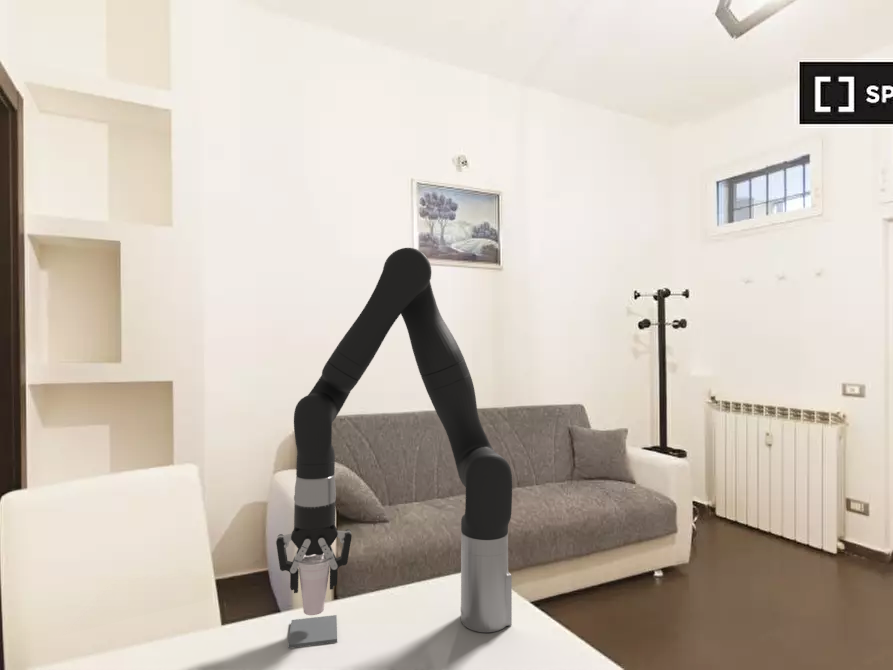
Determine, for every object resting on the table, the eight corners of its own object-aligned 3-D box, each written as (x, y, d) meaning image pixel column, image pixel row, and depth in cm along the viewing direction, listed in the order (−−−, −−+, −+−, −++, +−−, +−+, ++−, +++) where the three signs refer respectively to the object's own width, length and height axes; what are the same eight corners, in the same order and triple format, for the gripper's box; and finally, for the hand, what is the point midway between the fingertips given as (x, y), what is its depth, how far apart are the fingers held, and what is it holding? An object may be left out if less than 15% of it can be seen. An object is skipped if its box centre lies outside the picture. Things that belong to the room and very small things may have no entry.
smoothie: (322, 621, 92) (323, 542, 93) (289, 617, 94) (290, 539, 94) (336, 603, 99) (337, 530, 99) (305, 600, 100) (307, 527, 100)
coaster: (336, 618, 101) (336, 614, 101) (337, 642, 93) (337, 638, 93) (291, 623, 99) (291, 620, 99) (288, 648, 91) (288, 644, 91)
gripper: (352, 491, 102) (351, 577, 101) (277, 495, 99) (275, 584, 98) (354, 502, 95) (353, 595, 94) (273, 507, 91) (271, 603, 91)
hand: (313, 589), depth 96 cm, fingers closed on smoothie, 6 cm apart
